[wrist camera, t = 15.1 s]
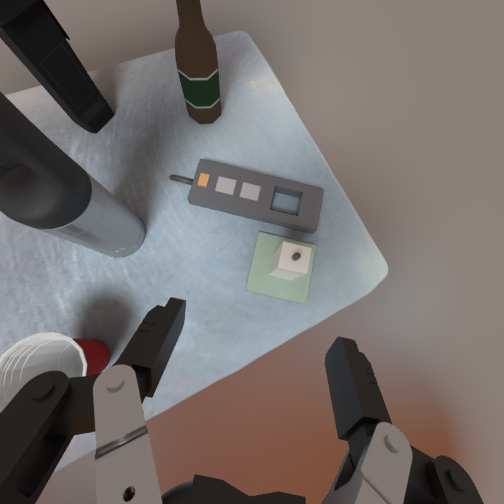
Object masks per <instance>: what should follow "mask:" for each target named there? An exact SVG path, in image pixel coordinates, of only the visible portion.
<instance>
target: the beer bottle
mask: <svg viewBox="0 0 504 504" xmlns="http://www.w3.org/2000/svg"><path fill="white" fill-rule="evenodd" d="M176 3H177V9H178V16H179V23H180V24H179V25H180V27H179V29H178V31H177V34H176V39H175V56H176V63H177V69H178V73H179V77H180V82H181V86H182V90H183V94H184V98H185V102H186V106H187V110H188V113H189V116H190V117H191V118H193V119H194V120H195V121H197V122H198V123H199V124H210V123H213V122H214V121H215V120H216V119H217V118H218V117H219V116H220V115H221V103H220V88H219V73H218V61H217V52H216V45H215V42H214V40H213V37H212V35H211V34H210V32H209V31H208V30H207V28H206V27H205V24H204V20H203V16H202V12H201V5H200V0H176Z"/></svg>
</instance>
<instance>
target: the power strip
mask: <svg viewBox="0 0 504 504" xmlns="http://www.w3.org/2000/svg"><path fill="white" fill-rule="evenodd" d="M169 178H170V179H171V180H174V181H178V182H183V183H187V184H191V185H192V186H191V189H190V192H189V196H188V200H189V203H190V204H193V205H197V206H201V207H205V208H210V209H214V210H218V211H222V212H226V213H230V214H234V215H238V216H243V217H247V218H251V219H255V220H259V221H263V222H267V223H272V224H276V225H280V226H284V227H288V228H292V229H296V230H300V231H305V232H309V233H314V232H315V231H316V230H317V225H318V219H319V214H320V208H321V202H322V196H323V190H324V189H321V188H317V187H313V186H309V185H305V184H301V183H297V182H293V181H289V180H284V179H280V178H276V177H272V176H268V175H264V174H260V173H256V172H252V171H248V170H244V169H240V168H236V167H232V166H228V165H224V164H220V163H216V162H212V161H208V160H204V159H200V161H199V164H198V167H197V170H196V173H195V177H194V180H191V179H187V178H183V177H179V176H175V175H170V176H169ZM274 192H278V193H283V194H287V195H291V196H295V197H299V203H298V208H297V213H296V216H294V215H290V214H286V213H282V212H278V211H274V210H270V207H271V202H272V198H273V193H274Z"/></svg>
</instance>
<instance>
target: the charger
mask: <svg viewBox="0 0 504 504" xmlns="http://www.w3.org/2000/svg"><path fill="white" fill-rule="evenodd" d="M311 249H312V248H309V247H304V246H300V245H296V244H292V243H288V242H284V241H283V242H282V244H281V245H280V246H279V247H278V249H277V250H276V251H275V252H274V253H273V256H272V261H271V265H270V270H269V275H271V276H275V277H280V278H284V279H288V280H293V279H296V278H299V277H301V276H304V275H306V274H307V272H308V266H309V261H310V255H311Z"/></svg>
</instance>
